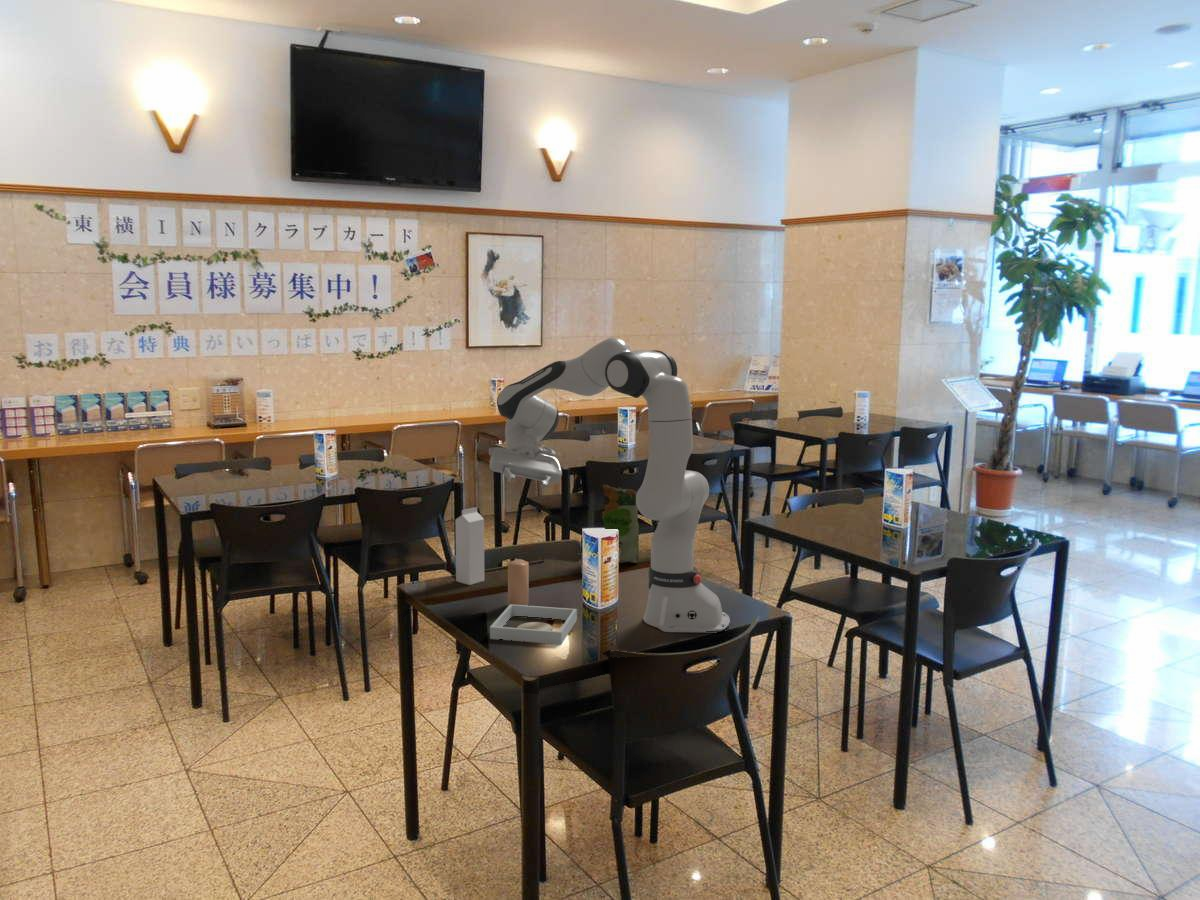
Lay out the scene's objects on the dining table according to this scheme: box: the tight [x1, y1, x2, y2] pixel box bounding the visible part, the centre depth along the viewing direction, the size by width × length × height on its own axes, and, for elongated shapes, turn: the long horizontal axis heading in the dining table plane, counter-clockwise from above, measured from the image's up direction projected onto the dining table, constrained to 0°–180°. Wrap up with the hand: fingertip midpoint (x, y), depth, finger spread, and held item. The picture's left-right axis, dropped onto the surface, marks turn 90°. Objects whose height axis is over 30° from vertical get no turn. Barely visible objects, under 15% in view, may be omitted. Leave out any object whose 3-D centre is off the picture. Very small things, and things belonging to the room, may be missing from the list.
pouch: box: [601, 483, 640, 564], centre depth 295 cm, size 11×12×25 cm
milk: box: [454, 506, 485, 586], centre depth 273 cm, size 6×6×22 cm
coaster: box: [516, 621, 553, 631], centre depth 234 cm, size 9×9×1 cm
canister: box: [507, 559, 530, 607], centre depth 252 cm, size 6×6×12 cm
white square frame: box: [489, 604, 578, 645], centre depth 234 cm, size 18×18×3 cm
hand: (528, 483), depth 250 cm, fingers open, 8 cm apart
